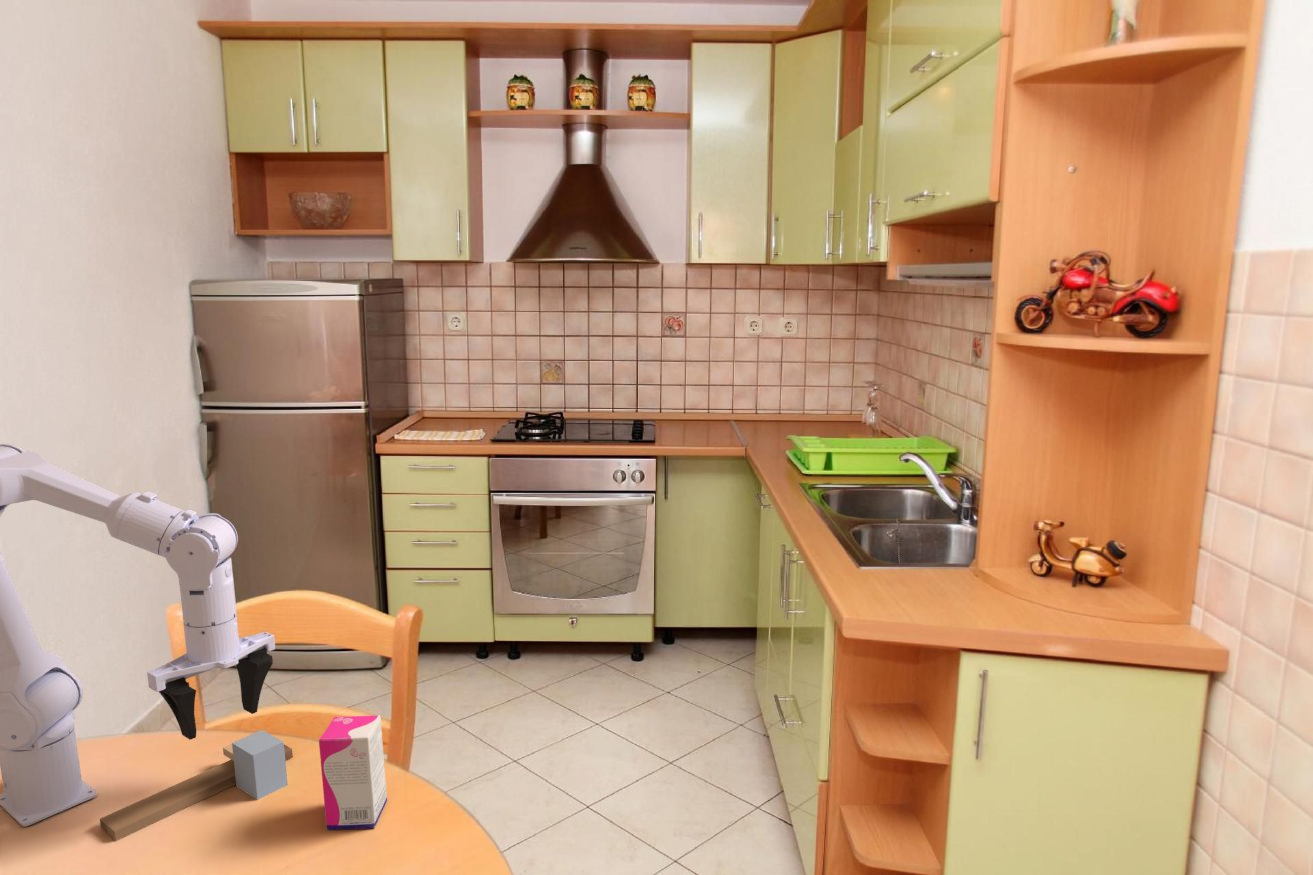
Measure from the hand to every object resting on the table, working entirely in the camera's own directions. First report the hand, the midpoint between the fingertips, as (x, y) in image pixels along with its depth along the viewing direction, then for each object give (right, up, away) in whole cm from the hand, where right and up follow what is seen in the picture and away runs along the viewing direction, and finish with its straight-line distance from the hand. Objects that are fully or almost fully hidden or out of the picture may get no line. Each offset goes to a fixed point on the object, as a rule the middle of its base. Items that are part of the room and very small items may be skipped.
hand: (220, 722), depth 109 cm
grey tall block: (+1, -9, +6) cm, 11 cm away
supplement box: (+18, -10, -2) cm, 20 cm away
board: (-4, -9, +3) cm, 11 cm away
